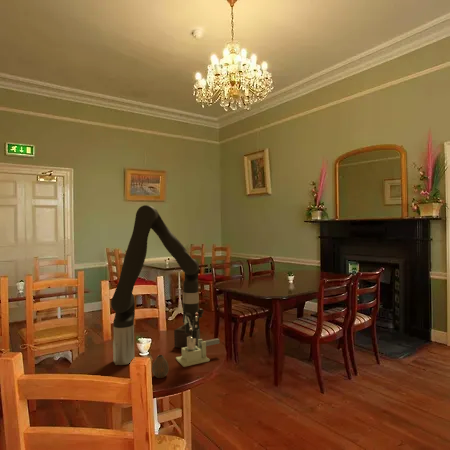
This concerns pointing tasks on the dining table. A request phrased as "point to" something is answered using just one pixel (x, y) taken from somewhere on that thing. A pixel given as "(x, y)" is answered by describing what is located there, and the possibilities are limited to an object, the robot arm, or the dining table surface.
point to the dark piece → (185, 334)
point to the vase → (160, 367)
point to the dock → (193, 355)
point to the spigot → (191, 344)
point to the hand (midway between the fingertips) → (190, 335)
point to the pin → (210, 342)
